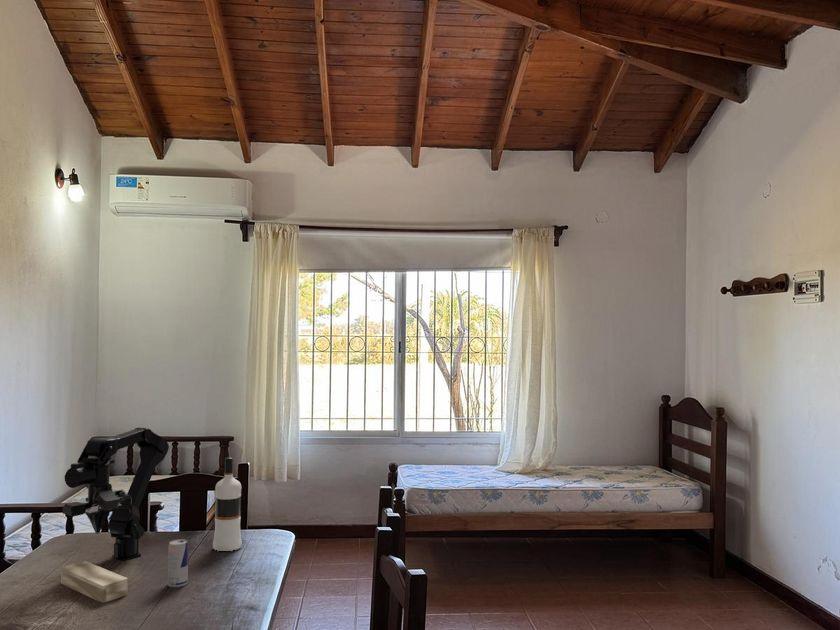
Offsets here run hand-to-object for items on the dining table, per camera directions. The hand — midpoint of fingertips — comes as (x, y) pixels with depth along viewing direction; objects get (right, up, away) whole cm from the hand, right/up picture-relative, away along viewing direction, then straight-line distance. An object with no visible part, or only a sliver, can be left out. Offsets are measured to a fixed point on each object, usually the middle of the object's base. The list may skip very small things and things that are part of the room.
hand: (97, 532), depth 205 cm
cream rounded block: (+6, -11, -15) cm, 20 cm away
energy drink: (+28, -11, -11) cm, 32 cm away
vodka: (+33, -12, +21) cm, 41 cm away
